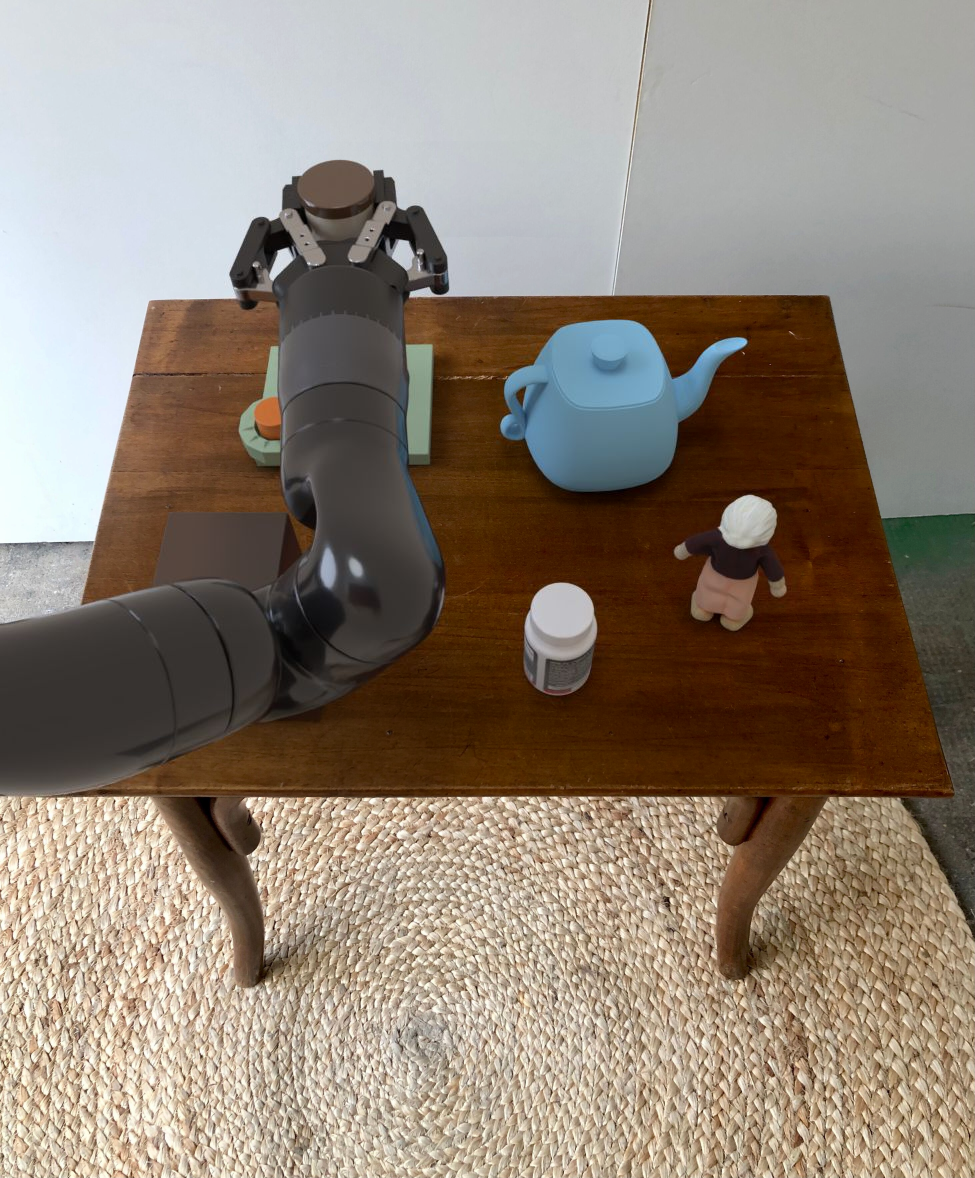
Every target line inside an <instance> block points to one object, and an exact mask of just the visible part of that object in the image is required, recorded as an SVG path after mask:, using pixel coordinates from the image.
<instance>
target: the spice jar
mask: <svg viewBox="0 0 975 1178" xmlns="http://www.w3.org/2000/svg"><path fill="white" fill-rule="evenodd" d="M300 176H301V177H300V179H299V182H298V187H297V188H298V194H299V198H300V202H301V205H302V206H303V209H304V214H305V218H306V223H307V226H308V228H309V230H310V232H311V233H312V235H313V237H314V239H315V241H321V240H330V241H342V240H346V239H350V238H358V237H359V235H360V233H361V231H362V229H363V227H364V225H365V223H366V221H367V220H371V219H372V217H373V215H374V213H375V211H376V209H375V200H374V199H375V195H376V189H375V182H374V177H373V172H371V170H370V169H369V168H368V167H367V166H365V165H363V164H362V163H360V162H356V161H353V160H349V159H331V160H326V161H325V160H324V161H322V162H319V163H317V164H315V165H313V166H311V167H309V168H308V169H306V170H305V171H304V172H303V173H302V174H301V175H300Z"/></svg>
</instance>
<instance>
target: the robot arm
mask: <svg viewBox="0 0 975 1178" xmlns="http://www.w3.org/2000/svg"><path fill="white" fill-rule="evenodd" d="M372 175H373V177H374V182H375V189H376V195H375V199H374V200H375V209H376V211H375V213H374V215H373V217H372V219H371V220H367V221H366V223H365V225H364V227H363V229H362V231H361V233H360V235H359V237H358V238H350V239H346V240H342V241H330V240H321V241H315V239H314V237H313V235H312V233H311V232H310V230H309V228H308V226H307V223H306V218H305V214H304V209H303V206H302V205H301V202H300V198H299V194H298V188H297V187H298V182H299V179H300V177H301V176H302V175H293V176H291V183H289V184H288V183H287V184H285V185H284V186H283V188H282V190H281V191H282V192H281V211H280V212H279V213H278V217H277V218H274V219H272V220H270V219H269V218H268V217H266V216H258V217H255V218H253V219H252V220H251V222H250V224H249V226H248V228H247V231H246V233H245V236H244V238H243V240H242V243H241V245H240V248H239V250H238V252H237V254H236V256H235V259H234V261H233V263H232V266H231V268H230V270H229V273H228V274H229V275H228V276H229V279H230V282H231V285H232V287H233V288H232V289H233V292H234V295H235V297H236V300H237V304H238V307H239V308H240V309H242V310H244V311H251V310H254V309H255V308H256V307H258V304H259V302H265V303H275V305H276V307H277V309H278V311H279V314H278V316H279V317H278V345H277V346H278V377H277V393H278V403H279V409H280V415H281V433H280V466H279V480H280V481H279V482H280V491H281V495H282V498H283V501H284V504H285V506H286V508H287V509H288V511H289V513H290V515H291V516H293V517H294V519H296V521H297V522H299V523H300V524H301V525H303V526H304V527H306V528H307V529H310V530H312V531H314V535H313V538H312V542H311V545H309V546H308V548H307V549H306V550H305V551H304V552H302V555H301V556H300V557H299V558H298V559H297V560H296V561H295V562H294V563H293V564H292V565H291V566H290V567H289V568H288V569H287V570H286V571H285V573H284V574H283V575H281V576H280V577H279V578H278V579H276V580H275V581H273V582H271V583H268V584H266V585H264V586H262V587H259V588H257V589H254V590H251V591H249V590H248V589H246V588H245V587H243V586H242V585H240V584H238V583H236V582H234V581H232V580H229V579H225V578H220V577H196V578H189V579H183V580H178V581H173V582H169V583H165V584H162V585H158V586H154V587H152V586H150V587H146V588H142V589H138V590H135V591H131V592H126V593H123V594H119V595H115V596H111V597H108V598H103V599H100V600H95V601H91V602H87V603H84V604H79V605H77V606H73V607H69V608H65V609H62V610H61V609H60V610H58V611H53V612H50V613H45V614H41V615H36V616H31V617H27V618H22V619H18V620H13V621H9V622H3V623H0V797H4V798H5V797H11V798H12V797H13V798H33V797H34V798H36V797H37V798H38V797H52V796H61V795H69V794H74V793H80V792H87V791H90V790H94V789H97V788H101V787H105V786H109V785H112V784H115V783H118V782H120V781H124V780H127V779H130V778H131V777H135V776H136V775H139V774H142V773H144V772H147V771H149V770H150V771H151V769H155V768H157V767H159V766H162V765H164V764H166V763H168V762H171V761H174V760H176V759H178V758H181V757H183V756H186V755H188V754H190V753H192V752H195V751H197V750H200V749H201V748H202V749H203V748H204V747H207V746H209V745H212V744H214V743H215V742H219V741H221V740H223V739H225V738H227V737H229V736H231V735H233V734H235V733H237V732H239V731H241V730H242V729H244V728H246V727H248V726H250V725H258V724H264V723H268V722H272V721H277V720H276V719H280V718H284V717H288V716H292V715H296V714H300V713H303V712H307V711H310V710H313V709H316V708H319V707H321V708H322V707H324V706H326V705H328V704H331V703H333V702H335V701H338V700H340V699H342V698H344V697H347V696H349V695H350V694H353V693H355V692H356V691H357V690H360V689H361V688H362V687H364V686H365V685H367V684H368V683H370V682H371V681H373V680H374V679H375V678H376V677H378V675H380V674H382V673H383V672H384V671H385V670H387V669H388V668H389V667H391V666H392V665H394V664H395V663H396V662H398V661H399V660H400V659H402V658H403V657H404V656H406V655H407V654H409V653H410V652H411V651H412V650H414V649H415V648H417V646H419V645H420V644H422V643H423V642H424V641H425V640H426V639H427V638H428V637H429V635H430V634H432V632H433V630H434V629H435V628H436V626H437V624H438V622H439V619H440V617H441V614H442V611H443V607H444V603H445V596H446V592H447V591H446V590H447V572H446V564H445V559H444V557H443V553H442V550H441V547H440V545H439V542H438V540H437V538H436V535H435V532H434V530H433V527H432V525H431V523H430V520H429V517H428V516H427V512H426V511H425V507H424V505H423V501H422V500H421V497H420V495H419V493H418V491H417V488H416V486H415V484H414V481H413V479H412V477H411V475H410V465H409V450H408V435H407V411H408V402H409V382H410V375H409V371H408V369H407V355H406V345H407V343H406V328H405V312H404V308H405V305H406V303H407V302H408V300H409V299H410V296H411V293H412V292H415V291H419V290H423V289H427V288H429V289H430V291H431V293H432V294H434V295H436V296H444V295H446V294H448V293H449V291H450V278H449V263H448V255H447V253H446V251H445V249H444V247H443V245H442V243H441V241H440V239H439V237H438V235H437V233H436V231H435V229H434V227H433V225H432V223H431V221H430V219H429V216H428V215H427V213H426V211H425V209H424V208H423V207H422V206H420V205H417V204H416V205H410V206H408V207H407V208H406V210H405V209H402V208H400V207H399V206H398V198H397V190H396V181H395V180H394V178H393V177H392V176H385V172H384V169H374V170H372ZM399 241H407V242H408V245H409V247H410V249H411V251H412V254H413V257H412V260H411V267H410V268H409V269H407V270H406V268H405V267H404V266H403V265H401V264H400V263H399V262H397V261H396V260H395V259H394V258H393V255H394V252H395V250H396V248H397V246H398V244H399ZM285 249H287V251H288V253H289V255H290V256H291V258H292V260H291V261H290V262H289V263H288V264H287V265H286V266H285V267H284V268H283V269H282V270H281V271H280V272H279V273H278V274H277V275H276V276H275V277H274V279H273V280H272V279H271V276H270V274H271V272H272V269H273V268H274V264H275V262H276V259H277V257H278V254H279V252H278V251H282V250H285Z"/></svg>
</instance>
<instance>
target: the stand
mask: <svg viewBox="0 0 975 1178" xmlns="http://www.w3.org/2000/svg"><path fill="white" fill-rule="evenodd" d="M302 554H303V552H302V548H301V545H300V543H299V539H298V537H297V534H296V532H295V529H294V526H293V523H292V520H291V517H290V515H289V512H287V511H284V512H282V511H280V512H279V511H256V512H255V511H169V512H168V515H167V520H166V524H165V529H164V533H163V537H162V541H161V545H160V550H159V554H158V559H157V563H156V567H155V573H154V577H153V581H152V585H151V587H154V586H158V585H162V584H165V583H169V582H173V581H178V580H183V579H189V578H196V577H220V578H225V579H229V580H232V581H234V582H236V583H238V584H240V585H242V586H243V587H245V588H246V589H248V590H249V591H251V590H254V589H257V588H259V587H262V586H264V585H266V584H268V583H271V582H273V581H275V580H276V579H278V578H279V577H280V576H281V575H283V574H284V573H285V571H286V570H287V569H288V568H289V567H290V566H291V565H292V564H293V563H294V562H295V561H296V560H297V559H298V558H299V557H300V556H301V555H302ZM321 713H322V706H321V707H319V708H316V709H313V710H310V711H307V712H303V713H300V714H296V715H292V716H288V717H284V718H280V719H276V720H275V721H298V722H299V721H300V722H301V721H309V722H312V721H313V722H315V721H317V722H318V721H320V720H321V715H322V714H321Z"/></svg>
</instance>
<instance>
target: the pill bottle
mask: <svg viewBox="0 0 975 1178" xmlns="http://www.w3.org/2000/svg"><path fill="white" fill-rule="evenodd" d="M524 622H525V623H524V629H523V630H524V641H523V669H524V674H525V676H526V678H527V680H528V681H529V683H530V684H531V685H532V686H533V687H534V688H535V689H537V690H538V691H540V692H542V693H544V694H547V695H549V696H564V695H569V694H572V693H574V692H576V691H577V690H578V689H580V688H581V687H582V686H583V685H584V684H585V683H586V681H587V680H588V678H589V675H590V673H591V668H592V662H593V657H594V653H595V646H596V642H597V641H596V640H597V634H598V624H597V619H596V615H595V608H594V604H593V601H592V599H591V597H590V595H589V594H588V593H587V592H586V591H585V590H583V589H582V588H581V587H580V586H577V585H575V584H573V583H569V582H555V583H550V584H548V585H545V586H544V587H542V588H541V589H539V591H537V592H536V593H535V595H534V597H533V598H532V600H531V603H530V610H529V611H528V613H527V615H526V618H525V621H524Z"/></svg>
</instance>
